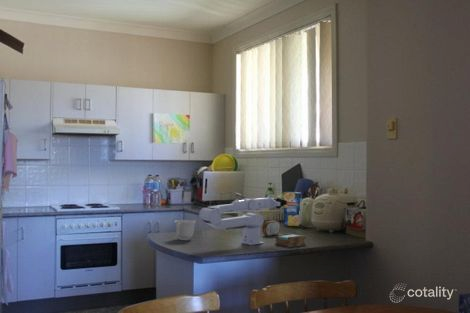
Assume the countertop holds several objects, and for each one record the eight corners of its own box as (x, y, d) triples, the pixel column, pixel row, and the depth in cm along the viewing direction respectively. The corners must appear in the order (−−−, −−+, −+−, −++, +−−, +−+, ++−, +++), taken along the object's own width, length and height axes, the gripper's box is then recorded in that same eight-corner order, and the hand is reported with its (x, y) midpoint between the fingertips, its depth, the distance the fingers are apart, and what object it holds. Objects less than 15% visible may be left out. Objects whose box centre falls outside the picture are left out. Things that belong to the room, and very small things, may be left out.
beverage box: (299, 226, 340) (300, 193, 341) (283, 225, 344) (284, 192, 344) (301, 224, 347) (302, 192, 347) (285, 223, 351) (286, 191, 351)
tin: (276, 233, 306) (276, 219, 306) (281, 234, 304) (281, 219, 304) (261, 236, 294) (261, 221, 294) (266, 236, 292) (266, 222, 292)
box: (288, 247, 259) (288, 237, 259) (274, 244, 266) (275, 234, 266) (305, 244, 266) (305, 235, 266) (291, 242, 274) (291, 232, 274)
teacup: (167, 241, 272) (167, 222, 272) (179, 237, 286) (180, 219, 286) (187, 242, 268) (188, 223, 268) (199, 238, 282) (199, 220, 282)
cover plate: (288, 240, 260) (288, 238, 260) (277, 238, 266) (277, 236, 266) (303, 238, 267) (303, 236, 267) (292, 236, 273) (292, 234, 273)
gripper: (271, 197, 267) (290, 195, 275) (254, 194, 278) (273, 193, 286) (271, 210, 267) (290, 208, 275) (253, 207, 278) (272, 206, 286)
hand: (281, 201), depth 281 cm, fingers open, 7 cm apart
